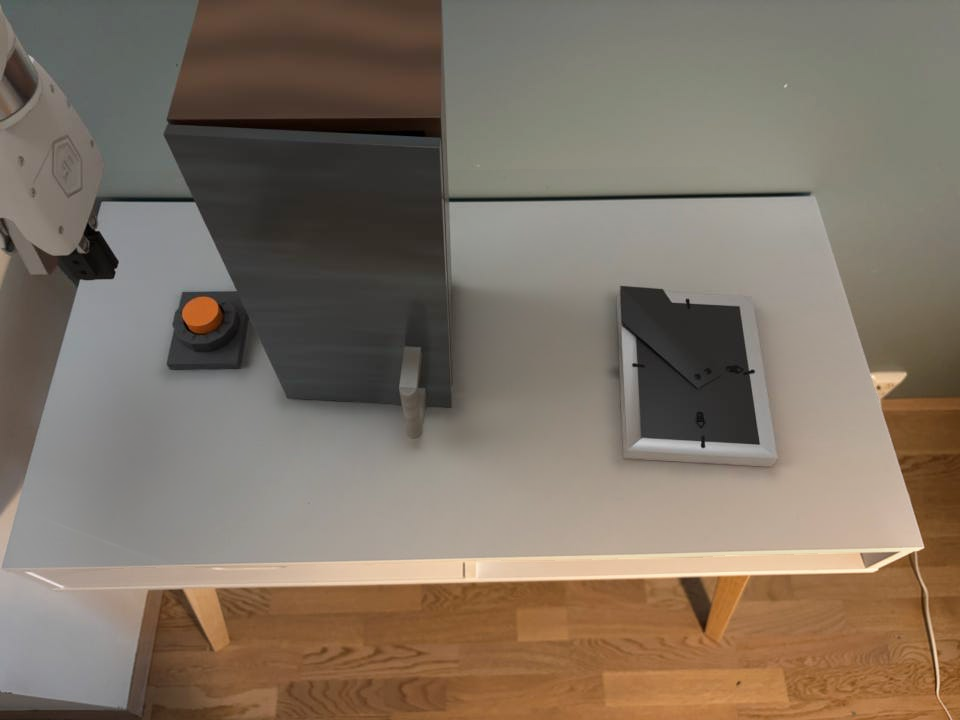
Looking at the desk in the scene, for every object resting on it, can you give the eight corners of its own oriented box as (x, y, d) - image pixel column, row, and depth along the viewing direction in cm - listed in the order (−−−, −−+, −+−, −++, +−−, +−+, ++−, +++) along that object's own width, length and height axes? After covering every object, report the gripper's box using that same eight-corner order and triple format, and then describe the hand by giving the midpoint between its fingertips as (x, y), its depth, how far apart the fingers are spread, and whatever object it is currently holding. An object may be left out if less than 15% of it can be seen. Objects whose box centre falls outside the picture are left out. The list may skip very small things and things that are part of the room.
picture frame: (616, 299, 89) (623, 458, 78) (620, 285, 86) (628, 448, 76) (746, 306, 89) (771, 467, 78) (754, 292, 86) (780, 456, 76)
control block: (240, 368, 83) (233, 355, 81) (169, 369, 83) (160, 356, 81) (252, 296, 88) (245, 281, 86) (185, 297, 88) (176, 282, 86)
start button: (220, 334, 83) (215, 325, 81) (184, 334, 83) (179, 326, 81) (225, 304, 85) (221, 296, 83) (190, 305, 85) (185, 296, 83)
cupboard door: (448, 451, 78) (432, 209, 45) (277, 441, 79) (139, 194, 46) (452, 399, 82) (441, 137, 49) (288, 390, 82) (166, 123, 49)
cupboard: (452, 386, 83) (441, 117, 49) (288, 388, 82) (165, 119, 49) (451, 285, 90) (441, -10, 56) (300, 287, 89) (201, -9, 56)
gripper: (-13, 167, 40) (123, 349, 55) (63, 3, 48) (163, 203, 63) (-153, 168, 40) (23, 350, 55) (-55, 3, 47) (75, 204, 63)
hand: (97, 271), depth 59 cm, fingers closed
